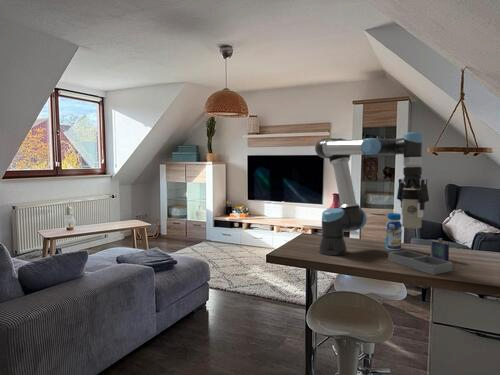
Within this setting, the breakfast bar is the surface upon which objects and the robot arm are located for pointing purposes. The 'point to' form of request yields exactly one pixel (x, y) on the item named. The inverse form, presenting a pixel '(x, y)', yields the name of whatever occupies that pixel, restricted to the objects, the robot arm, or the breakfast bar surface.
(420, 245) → the breakfast bar surface
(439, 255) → the flask
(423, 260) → the grey divided tray
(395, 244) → the beverage bottle
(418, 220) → the travel mug
